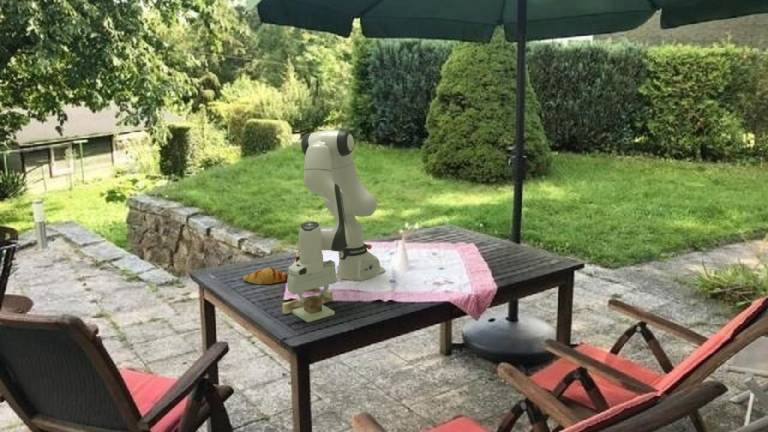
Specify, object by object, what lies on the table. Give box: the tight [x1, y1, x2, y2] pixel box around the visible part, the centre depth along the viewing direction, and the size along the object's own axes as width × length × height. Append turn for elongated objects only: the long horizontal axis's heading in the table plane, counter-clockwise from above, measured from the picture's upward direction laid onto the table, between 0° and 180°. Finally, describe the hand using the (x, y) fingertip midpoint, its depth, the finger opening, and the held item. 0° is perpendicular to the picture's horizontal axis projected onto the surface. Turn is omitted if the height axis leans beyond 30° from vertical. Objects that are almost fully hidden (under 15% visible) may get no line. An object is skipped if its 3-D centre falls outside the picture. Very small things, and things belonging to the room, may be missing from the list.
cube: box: [304, 294, 323, 314], centre depth 247 cm, size 5×5×5 cm
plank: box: [281, 290, 334, 315], centre depth 254 cm, size 22×2×4 cm, turn 127°
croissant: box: [242, 266, 290, 286], centre depth 283 cm, size 21×10×8 cm
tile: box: [291, 304, 336, 323], centre depth 248 cm, size 12×12×1 cm
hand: (313, 298), depth 247 cm, fingers open, 8 cm apart
